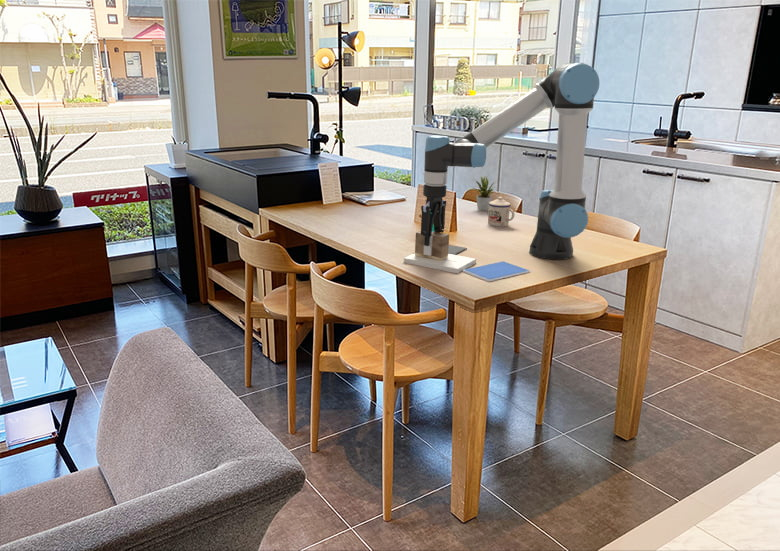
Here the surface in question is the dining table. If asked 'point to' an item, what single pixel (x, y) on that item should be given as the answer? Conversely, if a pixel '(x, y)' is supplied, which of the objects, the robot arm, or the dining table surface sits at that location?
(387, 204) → the dining table surface
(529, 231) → the dining table surface
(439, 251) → the sanding block
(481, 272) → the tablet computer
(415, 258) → the marked board
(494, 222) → the teacup with lid
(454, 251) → the mat
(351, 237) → the dining table surface
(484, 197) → the house plant
